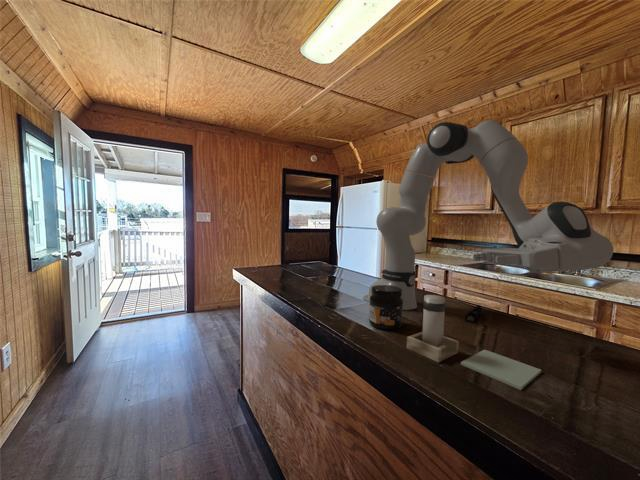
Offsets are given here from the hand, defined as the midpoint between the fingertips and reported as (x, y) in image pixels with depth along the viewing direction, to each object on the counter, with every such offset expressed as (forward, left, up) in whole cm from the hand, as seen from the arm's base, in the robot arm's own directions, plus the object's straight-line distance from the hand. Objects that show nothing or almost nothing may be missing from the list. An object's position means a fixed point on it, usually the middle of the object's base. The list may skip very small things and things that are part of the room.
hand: (484, 258), depth 71 cm
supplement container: (-26, -6, -24) cm, 36 cm away
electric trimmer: (-14, +28, -25) cm, 40 cm away
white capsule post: (-7, -10, -24) cm, 27 cm away
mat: (+7, -5, -24) cm, 26 cm away
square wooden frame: (-7, -10, -24) cm, 27 cm away
